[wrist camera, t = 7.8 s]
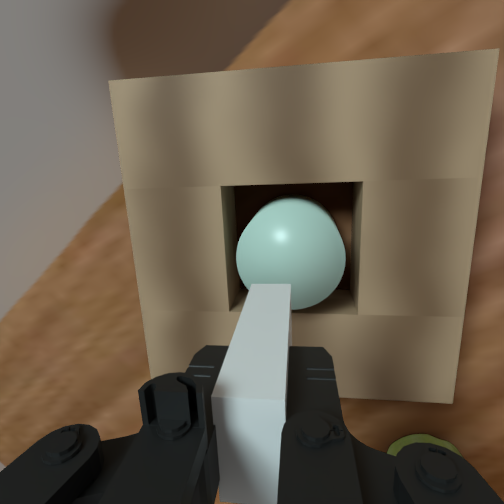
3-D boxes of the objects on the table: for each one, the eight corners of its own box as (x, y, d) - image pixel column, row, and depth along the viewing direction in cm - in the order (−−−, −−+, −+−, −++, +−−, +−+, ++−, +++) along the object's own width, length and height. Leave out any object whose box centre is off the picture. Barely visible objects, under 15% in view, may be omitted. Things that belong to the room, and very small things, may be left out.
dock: (172, 355, 29) (152, 386, 25) (140, 92, 23) (108, 80, 20) (430, 366, 26) (452, 403, 22) (463, 67, 20) (499, 48, 17)
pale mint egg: (251, 278, 25) (239, 308, 21) (247, 195, 24) (232, 207, 19) (336, 279, 24) (344, 310, 20) (338, 192, 23) (347, 204, 18)
